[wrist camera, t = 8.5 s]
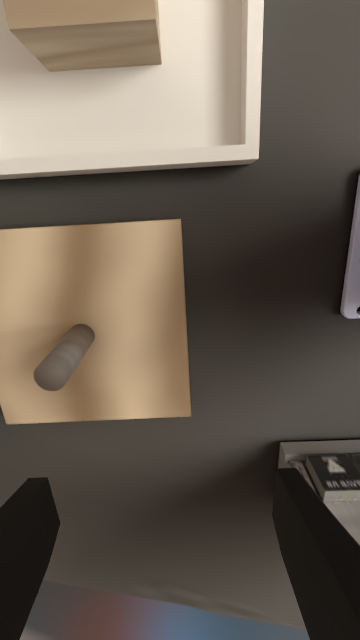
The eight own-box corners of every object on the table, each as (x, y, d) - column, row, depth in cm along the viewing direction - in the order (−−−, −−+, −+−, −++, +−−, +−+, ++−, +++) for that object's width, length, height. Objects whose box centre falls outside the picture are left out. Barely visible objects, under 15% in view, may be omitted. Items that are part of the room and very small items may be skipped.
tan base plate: (180, 218, 16) (181, 224, 11) (190, 406, 20) (194, 476, 15) (-41, 231, 16) (-146, 243, 11) (14, 414, 20) (-43, 485, 15)
